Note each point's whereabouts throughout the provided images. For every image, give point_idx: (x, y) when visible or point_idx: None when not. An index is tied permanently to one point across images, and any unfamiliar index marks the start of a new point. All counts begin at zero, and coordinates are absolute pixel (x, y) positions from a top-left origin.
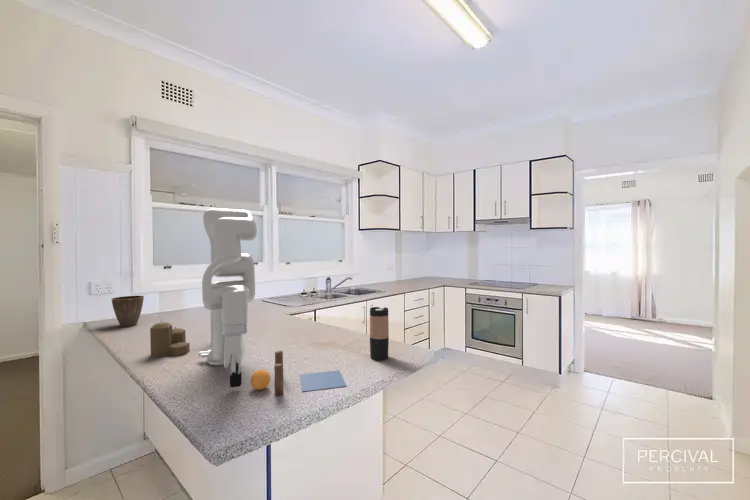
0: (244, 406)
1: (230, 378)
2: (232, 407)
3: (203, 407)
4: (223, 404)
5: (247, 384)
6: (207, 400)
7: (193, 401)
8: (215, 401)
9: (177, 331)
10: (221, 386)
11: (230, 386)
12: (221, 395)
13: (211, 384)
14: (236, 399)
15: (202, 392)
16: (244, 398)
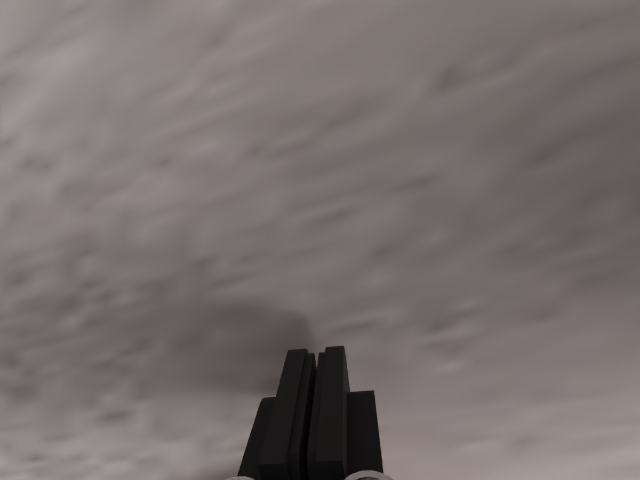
0: (46, 461)
1: (272, 423)
2: (25, 392)
3: (4, 170)
4: (67, 320)
5: (449, 426)
6: (138, 159)
7: (117, 11)
8: (118, 241)
9: None
10: (465, 198)
11: (288, 355)
12: (238, 259)
13: (566, 54)
14: (153, 394)
15: (338, 25)
16: (168, 444)
